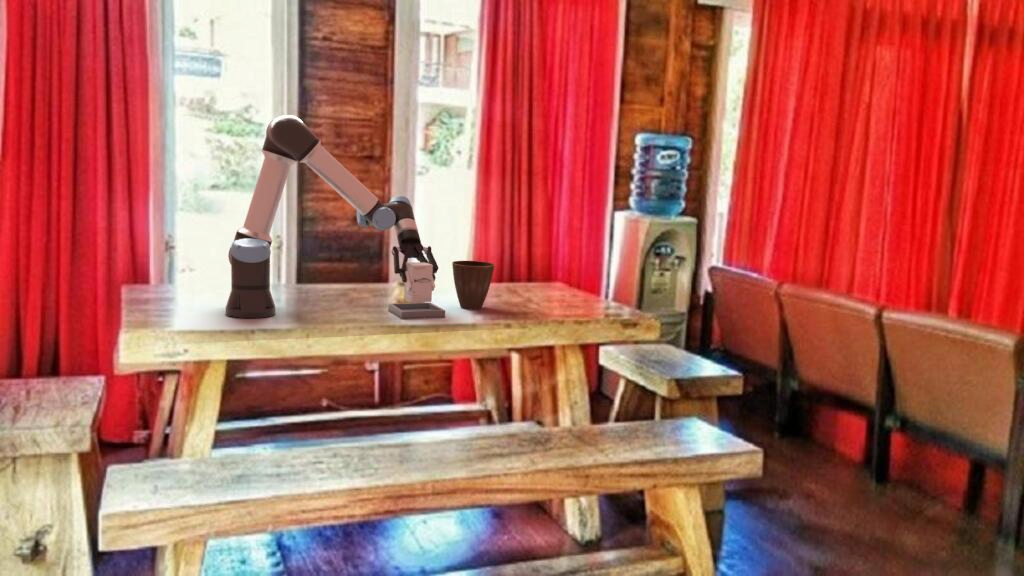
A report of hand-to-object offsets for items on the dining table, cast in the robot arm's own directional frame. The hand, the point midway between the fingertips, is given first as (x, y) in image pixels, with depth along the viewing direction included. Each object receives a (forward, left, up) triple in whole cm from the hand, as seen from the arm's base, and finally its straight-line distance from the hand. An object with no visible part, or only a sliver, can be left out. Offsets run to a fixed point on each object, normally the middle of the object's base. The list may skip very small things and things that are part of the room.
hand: (421, 288), depth 266 cm
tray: (0, +3, -9) cm, 10 cm away
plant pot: (+23, +11, -9) cm, 27 cm away
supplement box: (0, +3, -5) cm, 6 cm away
